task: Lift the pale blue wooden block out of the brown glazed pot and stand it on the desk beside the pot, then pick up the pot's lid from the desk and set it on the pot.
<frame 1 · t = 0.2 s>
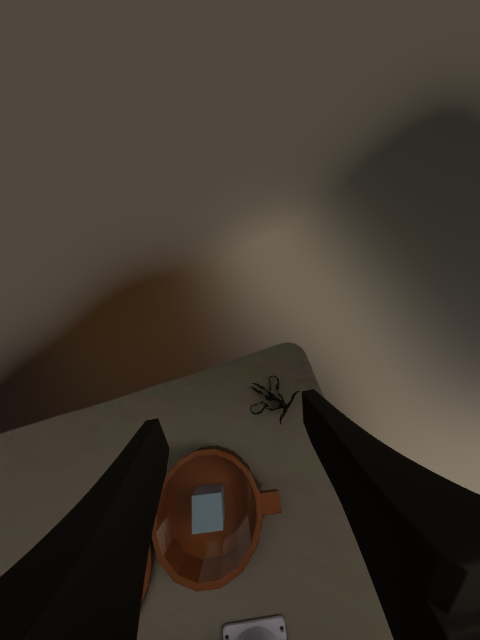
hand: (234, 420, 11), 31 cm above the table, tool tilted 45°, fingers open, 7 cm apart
pot: (211, 499, 34), on the table
creature: (267, 397, 41), on the table
block: (209, 506, 31), in the pot
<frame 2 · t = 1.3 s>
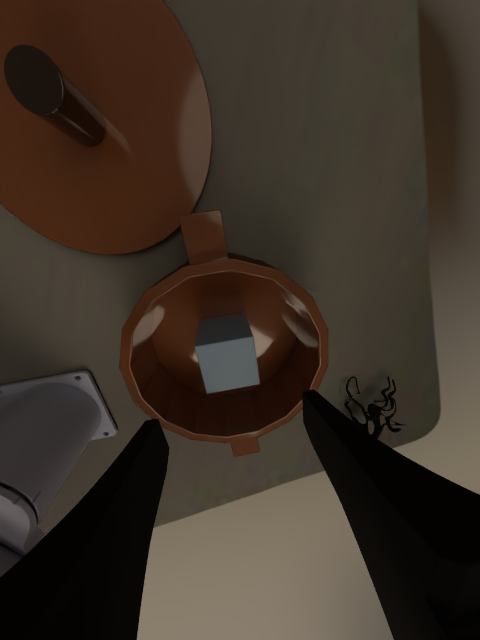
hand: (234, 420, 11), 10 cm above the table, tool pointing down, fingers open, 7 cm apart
lid: (89, 127, 14), point 1 cm above the table
pot: (226, 333, 21), on the table
creature: (362, 397, 25), on the table
block: (227, 349, 18), in the pot
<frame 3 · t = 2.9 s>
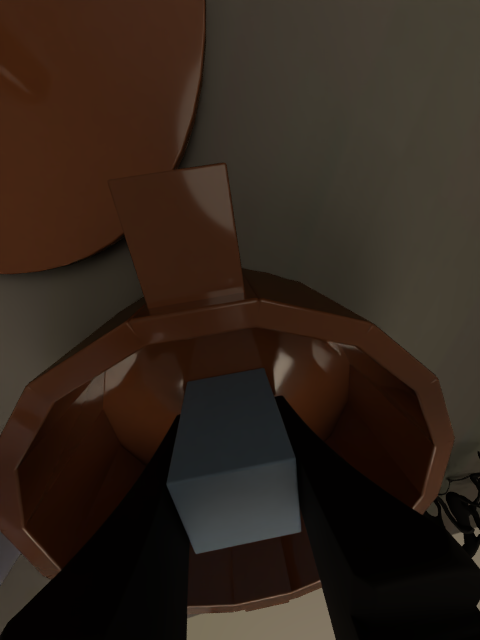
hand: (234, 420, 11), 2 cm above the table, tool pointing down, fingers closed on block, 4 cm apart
pot: (232, 398, 12), on the table
creature: (431, 474, 17), on the table
block: (235, 445, 10), in the pot, touching gripper
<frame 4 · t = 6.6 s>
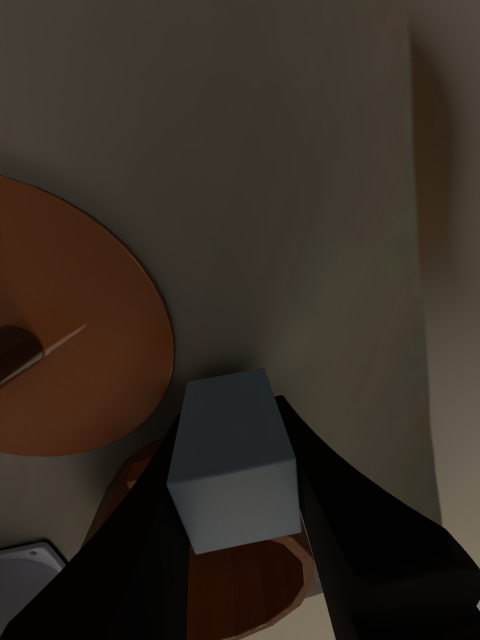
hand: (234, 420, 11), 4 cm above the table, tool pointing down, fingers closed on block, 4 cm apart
lid: (25, 342, 12), point 1 cm above the table
pot: (202, 497, 18), on the table
block: (235, 445, 10), point 5 cm above the table, touching gripper
when the fingers open (2 cm above the table, at t = 8.7 s): block drops 1 cm, on the table.
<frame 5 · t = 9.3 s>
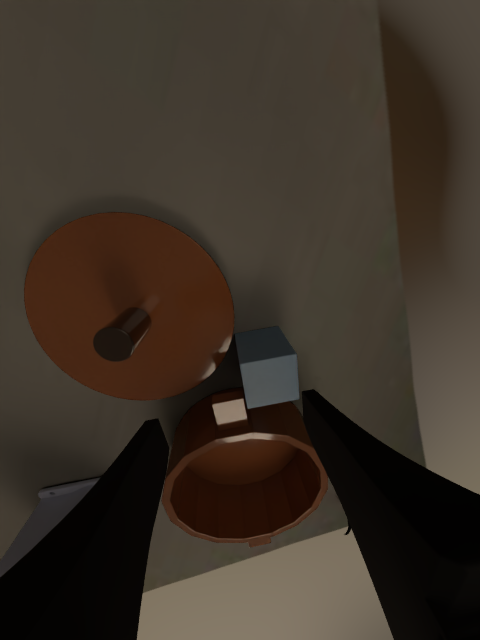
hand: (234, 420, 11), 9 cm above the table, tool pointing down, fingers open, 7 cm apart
lid: (138, 319, 18), point 1 cm above the table
pot: (241, 440, 24), on the table
block: (264, 363, 18), on the table
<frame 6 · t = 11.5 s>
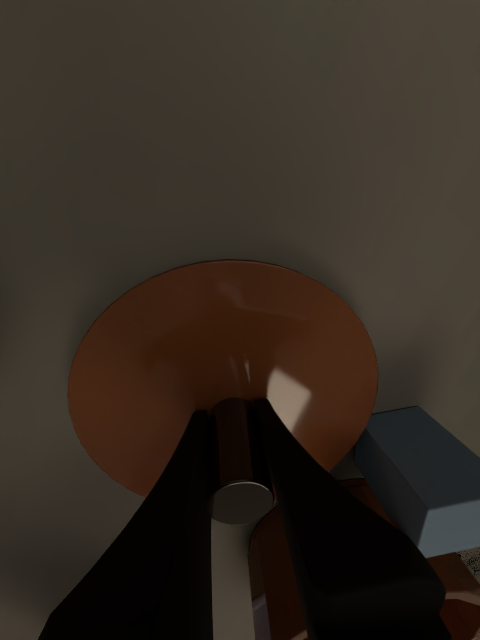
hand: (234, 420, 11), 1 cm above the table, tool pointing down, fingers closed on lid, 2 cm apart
lid: (232, 408, 12), point 1 cm above the table, touching gripper
pot: (333, 537, 18), on the table
block: (416, 472, 12), on the table
when the fingers open (6 cm above the table, at t = 15.6 s): lid stays where it is, resting on pot.
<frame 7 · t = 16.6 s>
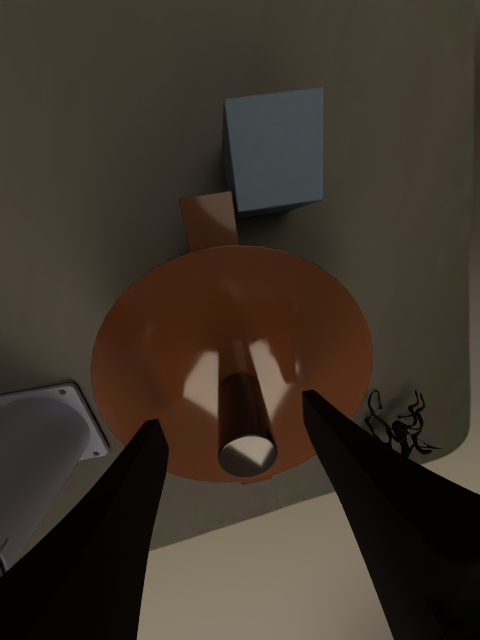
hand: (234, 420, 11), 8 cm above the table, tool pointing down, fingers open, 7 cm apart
lid: (238, 384, 13), point 5 cm above the table, touching pot
pot: (233, 341, 18), on the table
creature: (385, 412, 23), on the table
block: (266, 169, 12), on the table
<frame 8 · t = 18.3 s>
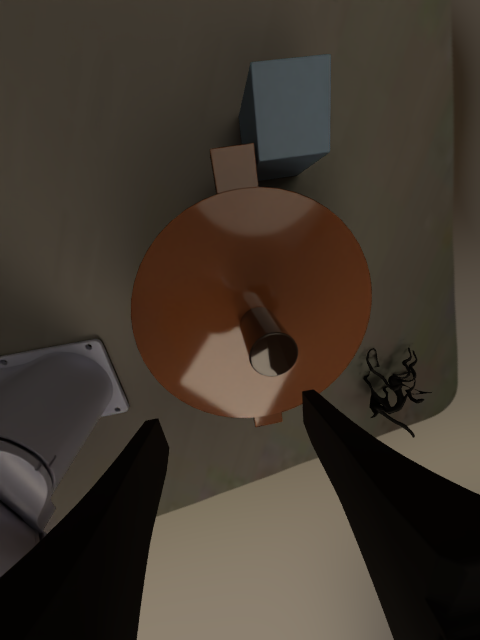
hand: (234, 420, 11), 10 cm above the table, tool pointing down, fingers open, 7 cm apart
lid: (256, 321, 15), point 5 cm above the table, touching pot
pot: (245, 299, 20), on the table
creature: (381, 371, 25), on the table
block: (279, 131, 14), on the table
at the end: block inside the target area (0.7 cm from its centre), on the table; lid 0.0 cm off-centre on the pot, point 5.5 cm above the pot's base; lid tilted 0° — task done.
